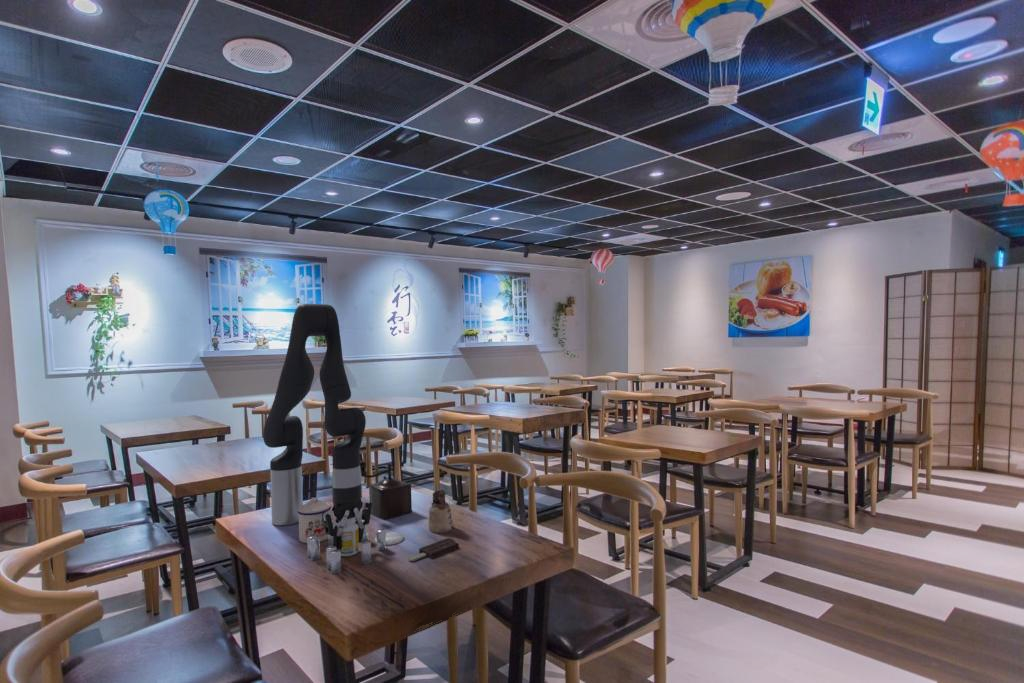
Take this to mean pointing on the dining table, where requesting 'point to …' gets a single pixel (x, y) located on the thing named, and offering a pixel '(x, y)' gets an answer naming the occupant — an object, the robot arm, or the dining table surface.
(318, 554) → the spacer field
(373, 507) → the coffee grinder
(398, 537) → the saucer
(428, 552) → the ice cream bar
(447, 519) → the figurine
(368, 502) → the robot arm
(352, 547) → the supplement bottle
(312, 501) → the teacup with lid
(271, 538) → the dining table surface
